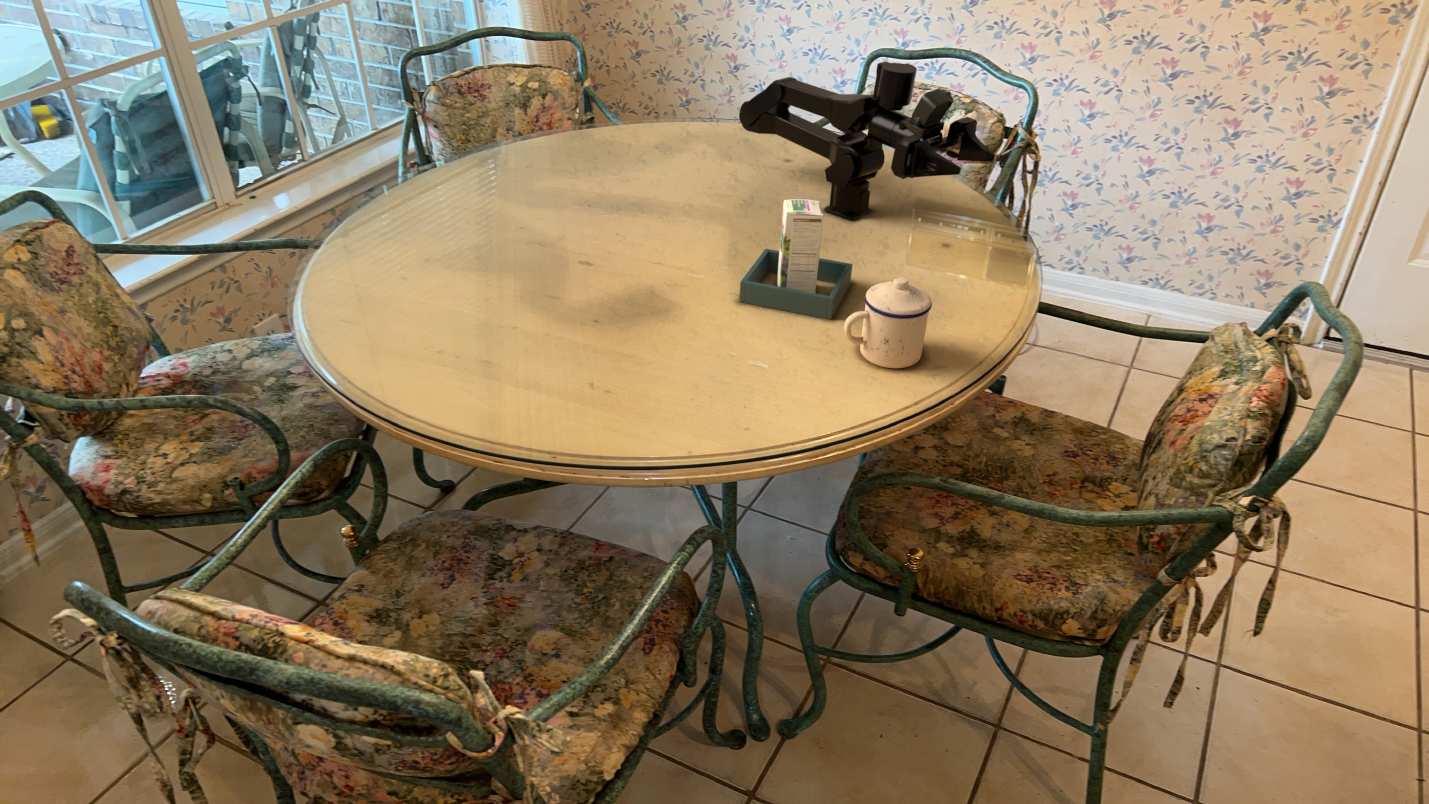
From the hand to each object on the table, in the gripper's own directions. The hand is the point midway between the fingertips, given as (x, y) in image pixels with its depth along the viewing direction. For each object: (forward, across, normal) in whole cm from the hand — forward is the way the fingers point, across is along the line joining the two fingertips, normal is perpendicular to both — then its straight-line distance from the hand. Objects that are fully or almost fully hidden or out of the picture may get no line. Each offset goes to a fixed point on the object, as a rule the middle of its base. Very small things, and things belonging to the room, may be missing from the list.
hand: (977, 164), depth 144 cm
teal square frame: (-8, -30, +17) cm, 36 cm away
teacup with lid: (+12, -34, +16) cm, 40 cm away
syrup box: (-8, -30, +17) cm, 36 cm away
